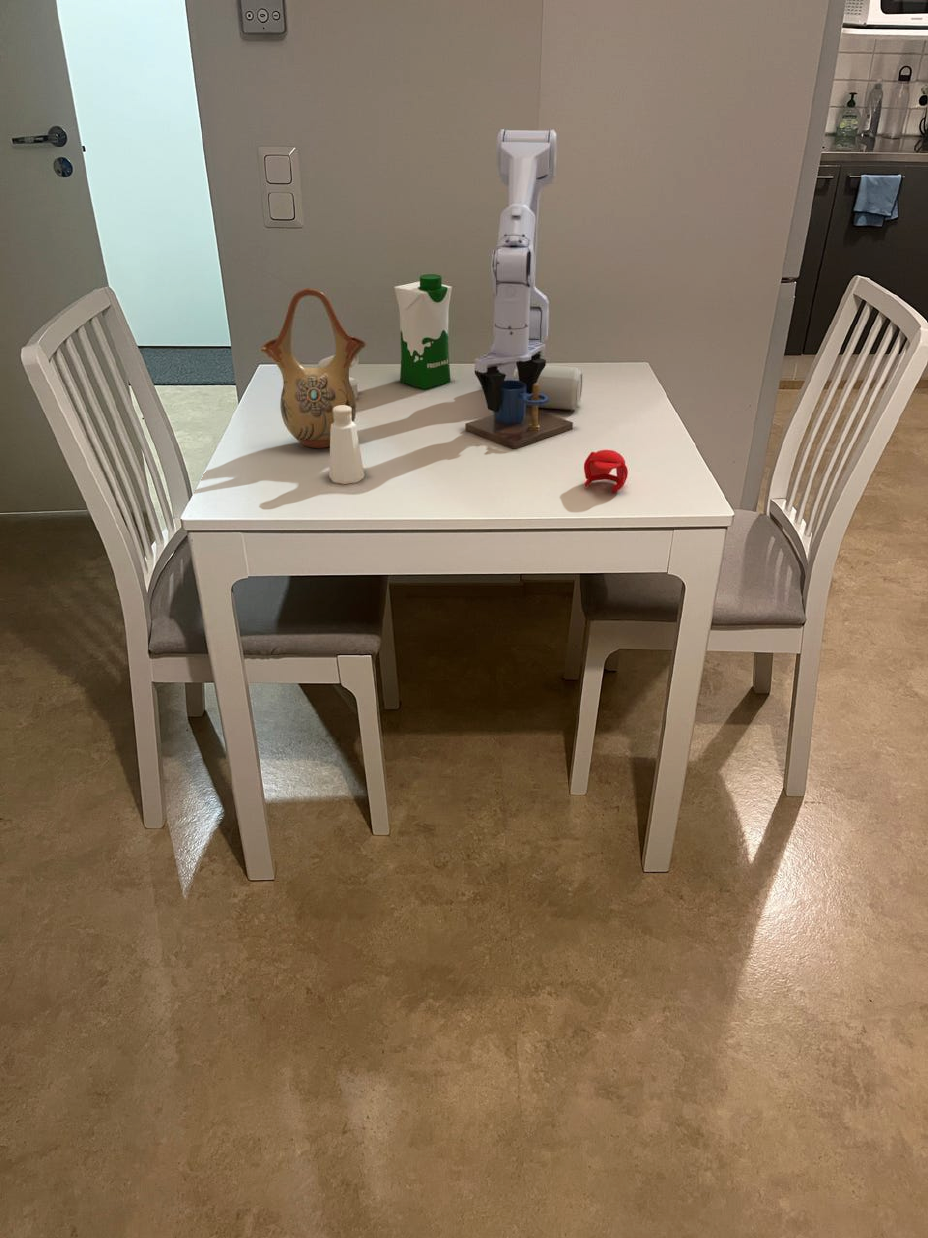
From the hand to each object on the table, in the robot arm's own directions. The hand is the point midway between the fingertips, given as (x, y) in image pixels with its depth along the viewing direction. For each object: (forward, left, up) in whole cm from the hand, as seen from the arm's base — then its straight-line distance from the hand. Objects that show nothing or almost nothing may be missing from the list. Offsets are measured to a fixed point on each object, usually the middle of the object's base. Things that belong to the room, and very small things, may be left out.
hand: (509, 405), depth 163 cm
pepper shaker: (-1, -34, -4) cm, 34 cm away
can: (+3, +15, 0) cm, 15 cm away
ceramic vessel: (-15, -29, -4) cm, 33 cm away
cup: (+3, 0, -3) cm, 4 cm away
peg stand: (+2, 0, -4) cm, 4 cm away
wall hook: (-33, -13, -4) cm, 35 cm away
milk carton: (-29, +5, -4) cm, 29 cm away
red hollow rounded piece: (+28, -8, -4) cm, 30 cm away
